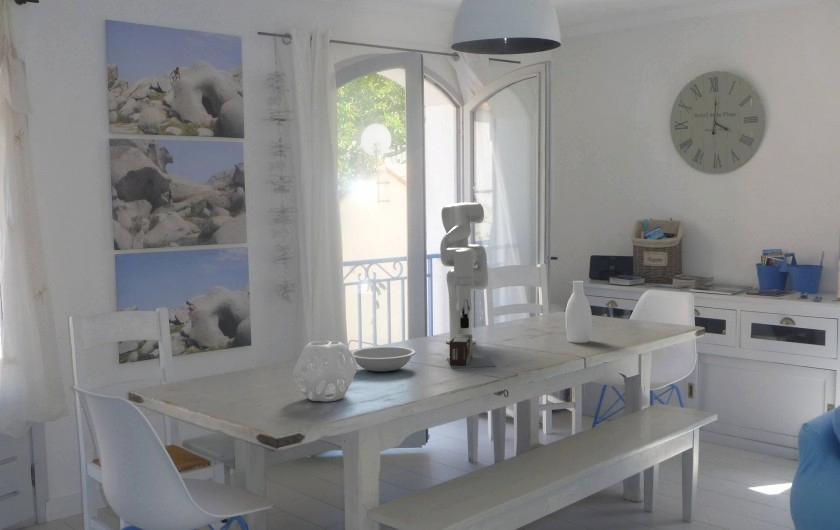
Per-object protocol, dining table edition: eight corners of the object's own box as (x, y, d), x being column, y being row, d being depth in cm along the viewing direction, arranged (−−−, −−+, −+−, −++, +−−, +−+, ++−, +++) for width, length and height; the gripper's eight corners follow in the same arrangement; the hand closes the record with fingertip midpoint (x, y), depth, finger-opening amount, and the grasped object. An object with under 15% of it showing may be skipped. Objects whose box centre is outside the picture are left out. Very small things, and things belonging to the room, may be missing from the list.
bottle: (590, 344, 353) (589, 282, 351) (563, 343, 357) (562, 282, 355) (593, 339, 364) (593, 280, 362) (567, 338, 367) (566, 279, 365)
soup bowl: (341, 367, 314) (341, 349, 314) (403, 361, 323) (402, 344, 322) (360, 380, 292) (359, 360, 291) (426, 373, 300) (425, 354, 300)
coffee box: (456, 334, 326) (449, 340, 310) (472, 334, 325) (466, 340, 309) (456, 357, 327) (449, 365, 311) (473, 358, 325) (466, 366, 310)
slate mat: (446, 359, 326) (446, 358, 326) (488, 357, 327) (488, 356, 327) (452, 368, 308) (452, 367, 308) (496, 366, 309) (496, 365, 309)
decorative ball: (288, 406, 255) (287, 349, 254) (298, 392, 275) (296, 338, 274) (355, 405, 255) (354, 347, 254) (360, 390, 275) (358, 337, 274)
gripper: (452, 279, 339) (452, 325, 341) (456, 283, 324) (457, 331, 326) (470, 278, 340) (471, 324, 342) (476, 283, 325) (476, 330, 327)
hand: (464, 327), depth 334 cm, fingers closed
